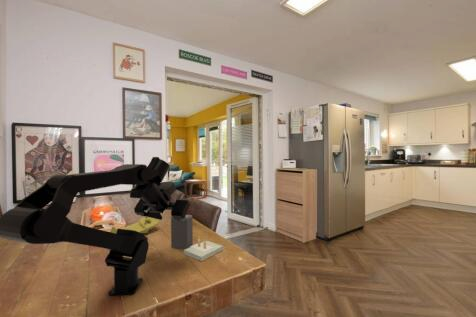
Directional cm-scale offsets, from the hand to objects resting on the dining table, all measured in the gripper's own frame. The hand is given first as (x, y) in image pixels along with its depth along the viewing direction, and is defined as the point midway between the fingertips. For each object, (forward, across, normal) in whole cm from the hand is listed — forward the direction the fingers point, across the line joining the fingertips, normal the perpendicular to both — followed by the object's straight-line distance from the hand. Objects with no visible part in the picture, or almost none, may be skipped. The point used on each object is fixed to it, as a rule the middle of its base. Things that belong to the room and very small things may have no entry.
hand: (172, 219), depth 78 cm
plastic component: (+18, +28, 0) cm, 33 cm away
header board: (+12, -10, +6) cm, 17 cm away
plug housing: (+13, 0, +4) cm, 14 cm away
